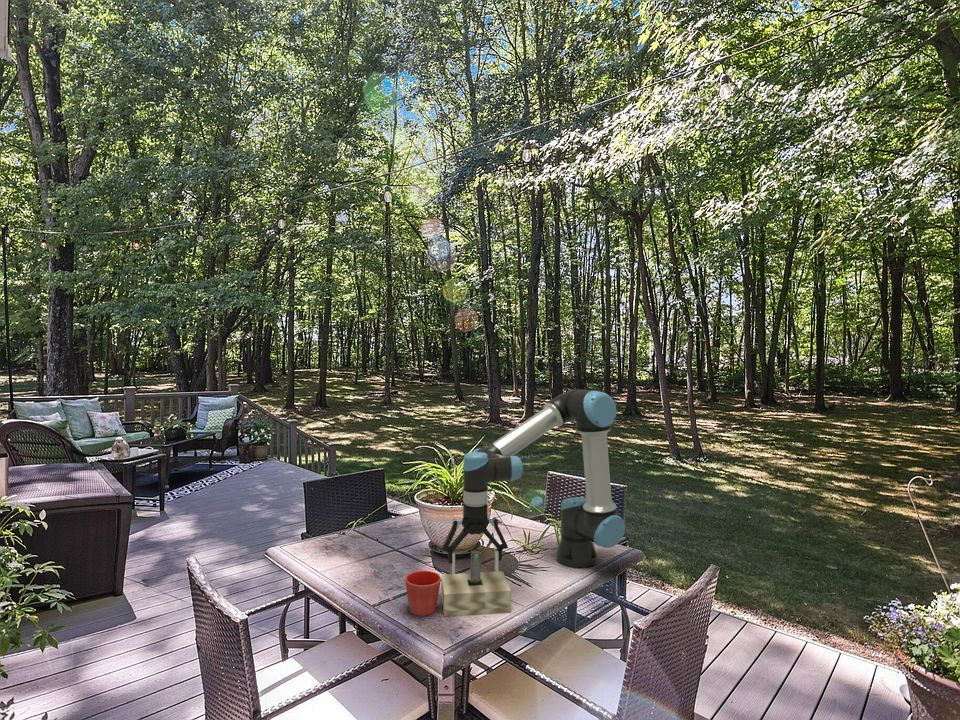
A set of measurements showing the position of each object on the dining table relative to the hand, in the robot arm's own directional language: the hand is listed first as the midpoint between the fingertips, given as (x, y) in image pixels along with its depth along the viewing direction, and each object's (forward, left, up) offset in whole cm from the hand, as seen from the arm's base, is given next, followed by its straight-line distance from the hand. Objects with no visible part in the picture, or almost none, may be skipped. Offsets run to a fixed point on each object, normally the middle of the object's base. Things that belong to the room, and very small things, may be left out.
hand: (475, 572), depth 162 cm
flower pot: (+16, +2, -10) cm, 19 cm away
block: (0, 0, -10) cm, 10 cm away
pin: (0, 0, -8) cm, 8 cm away
